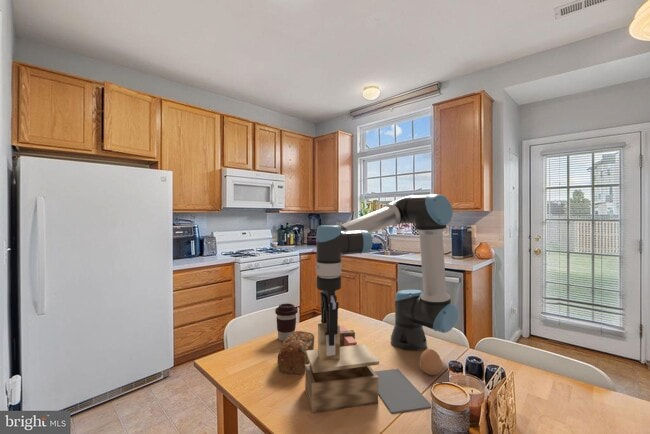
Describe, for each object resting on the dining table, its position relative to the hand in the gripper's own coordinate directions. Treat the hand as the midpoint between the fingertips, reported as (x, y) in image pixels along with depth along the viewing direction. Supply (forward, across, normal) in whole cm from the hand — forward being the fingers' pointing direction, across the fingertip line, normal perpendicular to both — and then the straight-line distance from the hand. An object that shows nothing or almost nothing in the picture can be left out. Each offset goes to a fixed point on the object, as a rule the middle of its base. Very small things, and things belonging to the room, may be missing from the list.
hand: (329, 351), depth 93 cm
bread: (+15, -24, -7) cm, 29 cm away
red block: (+5, -16, +10) cm, 19 cm away
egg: (+15, -6, +38) cm, 42 cm away
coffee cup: (+14, -47, -8) cm, 50 cm away
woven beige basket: (+14, -5, +4) cm, 15 cm away
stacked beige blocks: (+3, 0, +4) cm, 5 cm away
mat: (+14, 0, +22) cm, 26 cm away
